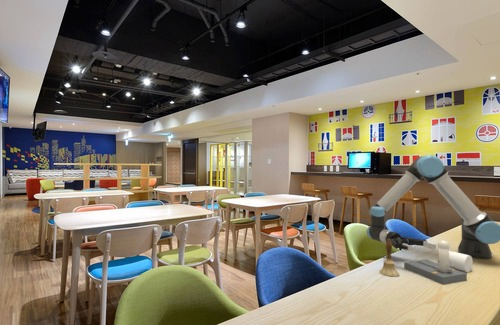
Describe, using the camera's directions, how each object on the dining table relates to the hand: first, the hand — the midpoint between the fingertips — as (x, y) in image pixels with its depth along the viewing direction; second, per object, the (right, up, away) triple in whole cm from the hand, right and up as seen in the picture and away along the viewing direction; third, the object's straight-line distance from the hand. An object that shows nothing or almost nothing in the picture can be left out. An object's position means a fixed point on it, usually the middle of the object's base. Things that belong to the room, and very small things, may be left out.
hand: (425, 248), depth 136 cm
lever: (+3, -7, -9) cm, 12 cm away
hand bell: (-19, -11, -3) cm, 22 cm away
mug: (+19, -11, +3) cm, 22 cm away
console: (+1, -10, -4) cm, 11 cm away
